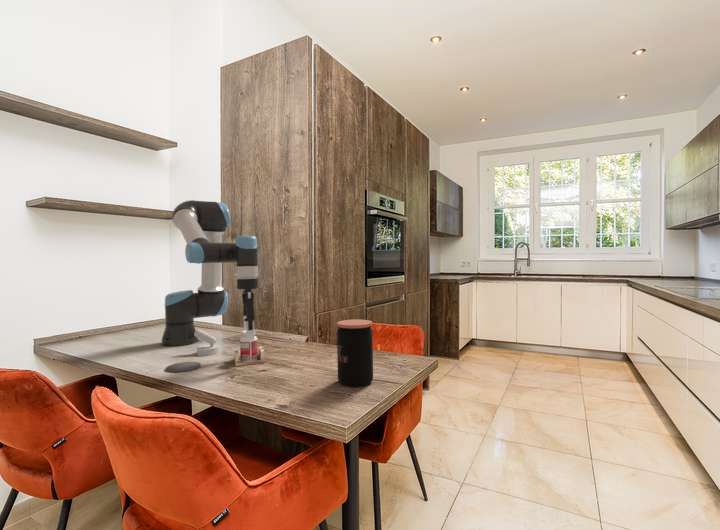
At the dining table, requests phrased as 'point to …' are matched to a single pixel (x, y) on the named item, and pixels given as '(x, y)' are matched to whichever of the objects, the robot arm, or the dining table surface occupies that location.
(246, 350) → the pill bottle
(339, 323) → the coffee jar
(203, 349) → the wall hook
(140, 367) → the dining table surface
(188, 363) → the coaster
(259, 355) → the cradle
